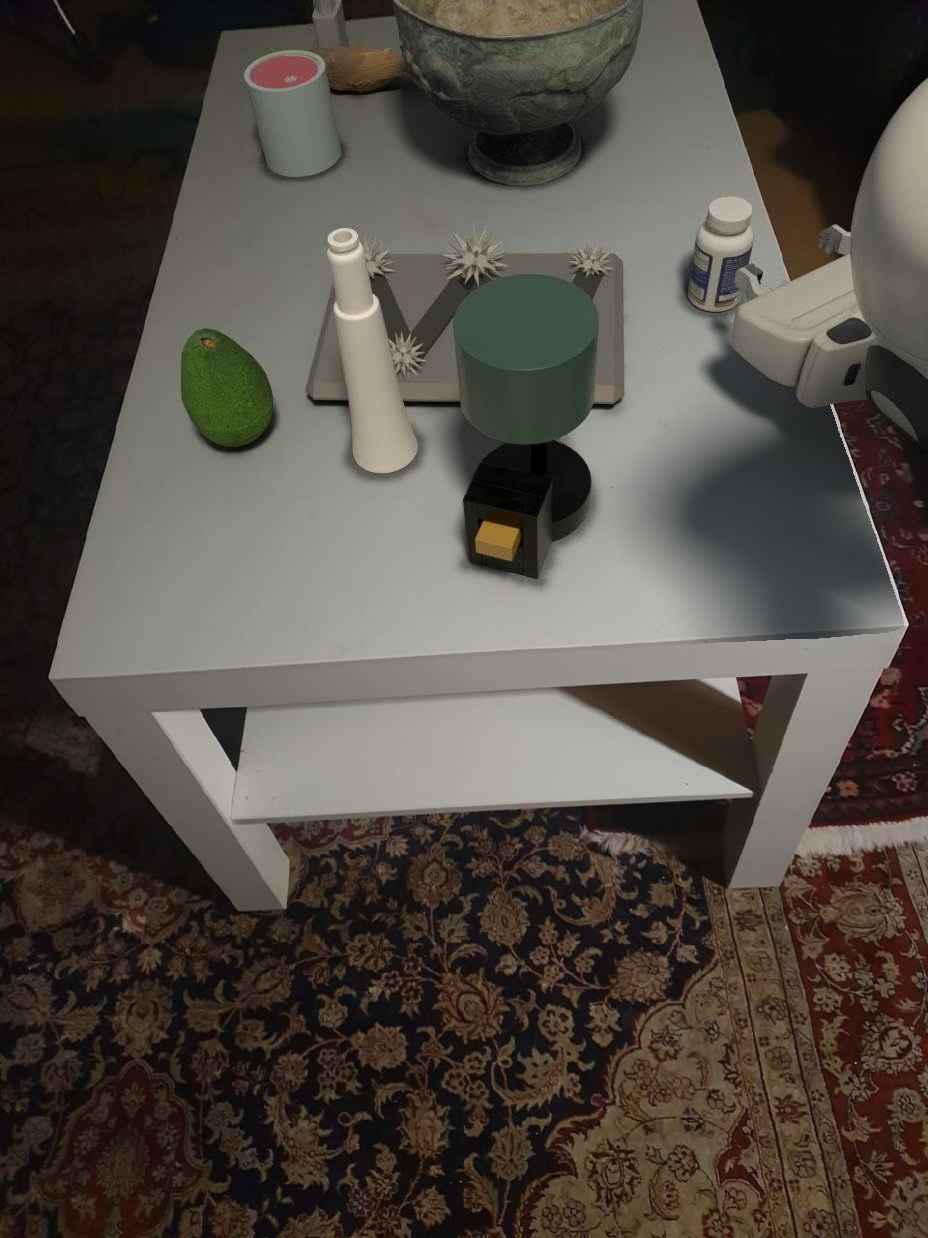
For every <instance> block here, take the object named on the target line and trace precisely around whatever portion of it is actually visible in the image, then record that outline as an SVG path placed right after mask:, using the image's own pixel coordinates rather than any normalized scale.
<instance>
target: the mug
mask: <svg viewBox="0 0 928 1238" xmlns="http://www.w3.org/2000/svg"><path fill="white" fill-rule="evenodd" d="M243 77H244V82H245V86H246V89H247V93H248V97H249V102H250V105H251V109H252V113H253V117H254V120H255V124H256V128H257V132H258V136H259V140H260V144H261V148H262V151H263V154H264V159H265V163H266V166H267V167H268V169H269V170H270V171H271V172H273V173H275V174H276V175H279V176H282V177H289V178H303V177H304V178H305V177H310V176H314V175H317V174H320V173H323V172H324V171H325V172H326V170H328V169H330V168H332V167H333V166H334V165H335V164H336V163H337V162H338V161H339V160H340V157H341V155H342V148H341V141H340V137H339V131H338V126H337V120H336V116H335V111H334V110H335V109H334V104H333V98H332V93H331V88H329V83H328V77H327V72H326V67H325V62H324V60H323V59H322V58H321V57H320V56H319V55H317V54H315V53H312V52H309V50H302V49H288V50H287V49H286V50H279V51H276V52H271V53H268V54H266V55H263V56H261V57H259V58H257V59H255V60H254V61H252V62H251V63H250V64H249V65H248V66H247V68H246V69H245V71H244V74H243Z"/></svg>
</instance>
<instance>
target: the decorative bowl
mask: <svg viewBox="0 0 928 1238" xmlns="http://www.w3.org/2000/svg"><path fill="white" fill-rule="evenodd" d="M392 5H393V10H394V16H395V20H396V25H397V30H398V38H399V39H398V40H399V43H398V46H399V48H400V51H401V54H402V57H403V60H404V62H405V65H406V67H407V69H408V72H409V74H410V75H409V74H408V75H409V76H410V78H411V79H412V81H413V82H414V84H415V86H416V88H417V90H418V91H419V92H420V93H421V94H422V95H423V96H424V97H425V98H427V99H428V101H430V102H431V103H432V104H433V105H434V106H435V108H437V109H438V110H440V111H441V112H442V113H443V114H445V115H446V116H447V117H449V119H451V120H453V121H455V122H456V123H459V124H460V125H463V126H465V127H467V128H470V129H473V130H475V133H473V136H472V137H471V139H470V141H469V144H468V148H467V152H468V153H467V157H468V162H469V163H470V165H471V166H472V168H473V170H475V171H476V172H477V173H479V174H480V175H481V176H483V177H485V179H487V180H490V181H493V182H496V183H500V184H503V185H509V186H521V187H528V186H535V185H543V184H546V183H548V182H551V181H554V180H556V179H558V178H560V177H562V176H564V175H566V174H568V173H569V172H570V171H572V169H573V168H574V167H575V166H576V165H577V163H578V161H579V159H580V157H581V154H582V153H581V152H582V143H581V136H580V135H579V133H578V131H577V130H576V128H575V127H574V126H572V125H571V124H570V123H569V121H571V120H573V119H577V118H579V117H581V116H583V115H585V114H587V113H589V112H590V111H592V110H594V108H596V107H597V106H599V104H600V103H601V102H602V101H603V100H604V99H605V98H606V97H607V95H608V94H609V93H610V91H611V90H612V89H613V88H614V87H615V86H617V84H618V83H619V82H620V81H622V78H623V77H624V75H625V74H626V72H627V71H628V69H629V67H630V65H631V62H632V61H633V58H634V55H635V53H636V50H637V43H638V39H639V35H640V31H641V27H642V21H643V20H642V19H643V15H644V14H643V13H644V7H645V6H644V5H645V0H392Z"/></svg>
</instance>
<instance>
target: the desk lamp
mask: <svg viewBox="0 0 928 1238" xmlns="http://www.w3.org/2000/svg"><path fill="white" fill-rule="evenodd" d="M598 330H599V314H598V311H597V308H596V306H595V304H594V302H593V300H592V299H591V298H590V296H589V295H588V294H587V293H586V292H584V291H583V290H582V289H581V288H579V287H578V286H576V285H574V284H572V283H570V282H568V281H566V280H563V279H560V278H557V277H553V276H548V275H541V274H518V275H511V276H506V277H502V278H498V279H495V280H492V281H490V282H488V283H485V284H483V285H482V286H480V287H478V288H476V289H475V290H474V291H472V292H471V293H470V294H469V295H467V296H466V297H465V298H464V300H463V301H462V302H461V303H460V305H459V306H458V308H457V310H456V312H455V315H454V319H453V333H454V343H455V353H456V363H457V373H458V383H459V394H460V402H459V403H460V407H461V410H462V413H463V415H464V417H465V419H466V420H467V422H468V423H469V424H470V425H471V426H472V427H473V428H474V429H475V430H476V431H478V432H480V434H482V435H484V436H486V437H488V438H490V439H493V440H494V441H498V442H501V443H503V444H500V445H499V446H497V447H495V448H493V449H492V450H490V451H489V452H488V453H487V454H486V455H485V456H484V457H483V459H482V460H481V461H480V462H479V463H478V465H477V467H476V470H475V472H474V474H473V476H472V479H471V481H470V482H469V485H468V487H467V489H466V491H465V494H464V496H463V497H462V506H463V507H462V509H463V516H464V517H463V518H464V525H465V526H464V527H465V534H466V544H467V553H468V561H469V563H472V564H475V565H480V566H484V567H487V568H491V569H497V570H501V571H505V572H509V573H513V574H516V575H522V576H524V577H528V578H532V579H536V580H538V579H539V576H540V574H541V571H542V569H543V567H544V564H545V561H546V558H547V556H548V553H549V551H550V548H551V545H552V543H554V542H557V541H560V540H561V539H564V538H565V537H567V536H569V535H571V534H572V533H573V532H574V531H576V530H577V529H578V528H579V527H580V526H581V525H582V523H583V522H584V521H585V519H586V517H587V516H588V513H589V510H590V505H591V495H592V494H591V493H592V474H591V470H590V468H589V466H588V463H587V462H586V461H585V459H584V458H583V457H582V456H581V455H580V454H579V453H578V451H576V450H575V449H574V448H572V447H570V446H569V445H567V444H564V443H563V442H560V441H557V440H558V439H560V438H562V437H564V436H566V435H568V434H570V433H571V432H573V431H575V430H576V429H577V428H578V427H580V426H581V425H582V424H583V423H584V422H585V421H586V419H587V418H588V416H589V414H590V412H591V411H592V408H593V405H594V404H593V402H594V393H595V377H596V361H597V346H598ZM484 519H485V520H489V521H493V522H498V523H502V524H506V525H510V526H514V527H519V528H521V540H520V543H519V545H518V548H517V550H516V553H515V555H514V558H513V560H512V561H509V560H505V559H501V558H497V557H493V556H489V555H484V554H480V553H477V552H476V545H475V538H476V536H477V534H478V531H479V529H480V527H481V525H482V522H483V520H484Z"/></svg>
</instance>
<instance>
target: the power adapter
mask: <svg viewBox="0 0 928 1238" xmlns="http://www.w3.org/2000/svg"><path fill="white" fill-rule="evenodd" d="M314 1H315V8H314V10H313V13H312V14H311V15H312V16H311V17H312V23H313V24H312V25H313V28H314V33H315V39H316V44H317V48H331V47H336V46H342V47H350V43H349V37H348V30H347V26H346V19H345V12H344V8H343V2H342V0H314Z"/></svg>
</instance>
